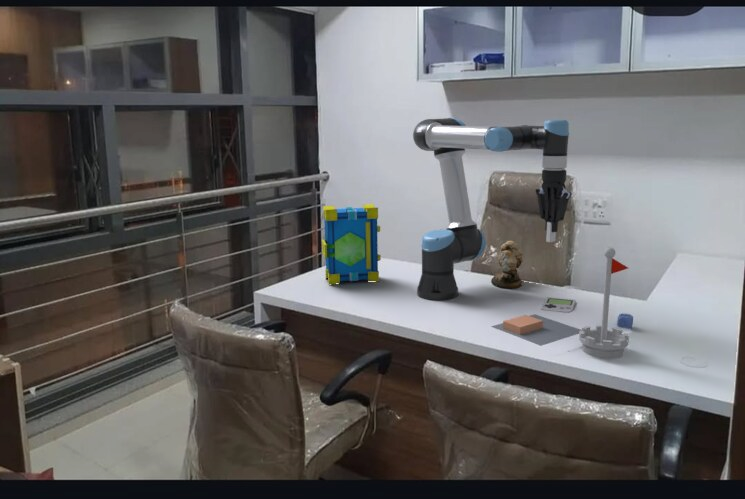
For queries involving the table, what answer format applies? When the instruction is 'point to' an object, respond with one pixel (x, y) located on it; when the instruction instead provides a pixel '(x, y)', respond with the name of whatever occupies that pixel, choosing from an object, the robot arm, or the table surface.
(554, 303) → the handheld gaming console
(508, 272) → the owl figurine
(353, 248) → the decorative book
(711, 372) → the table surface
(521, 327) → the card deck
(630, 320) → the decorative dice
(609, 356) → the flag stand
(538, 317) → the mat
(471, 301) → the table surface
